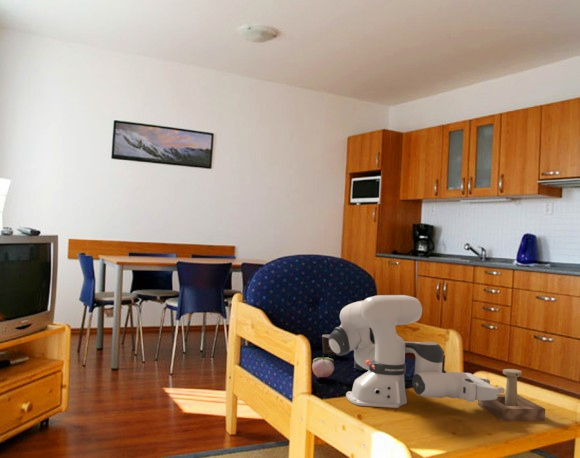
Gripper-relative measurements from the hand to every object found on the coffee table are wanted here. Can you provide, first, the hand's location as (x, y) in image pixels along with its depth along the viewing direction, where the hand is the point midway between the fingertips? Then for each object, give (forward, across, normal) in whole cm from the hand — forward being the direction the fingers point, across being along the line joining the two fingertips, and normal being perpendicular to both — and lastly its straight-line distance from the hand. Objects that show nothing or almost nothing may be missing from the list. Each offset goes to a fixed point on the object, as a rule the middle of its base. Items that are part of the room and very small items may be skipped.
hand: (495, 385), depth 182 cm
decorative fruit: (-55, -40, -10) cm, 69 cm away
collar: (+6, 0, -10) cm, 11 cm away
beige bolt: (+6, 0, -10) cm, 11 cm away
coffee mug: (-41, -81, -11) cm, 91 cm away
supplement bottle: (-33, -55, -10) cm, 65 cm away
